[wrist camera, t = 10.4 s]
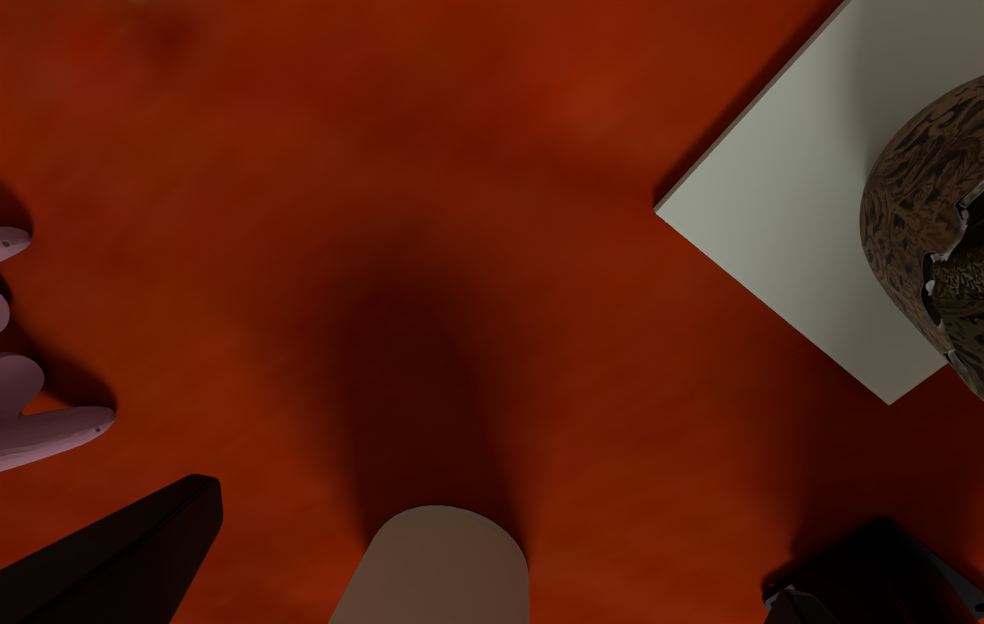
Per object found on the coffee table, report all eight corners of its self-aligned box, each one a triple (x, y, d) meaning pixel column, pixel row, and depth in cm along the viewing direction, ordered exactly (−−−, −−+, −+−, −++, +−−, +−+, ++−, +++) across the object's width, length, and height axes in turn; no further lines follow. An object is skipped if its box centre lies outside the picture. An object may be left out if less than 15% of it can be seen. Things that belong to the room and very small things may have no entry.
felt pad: (1215, 149, 16) (1237, 152, 15) (880, 396, 20) (888, 405, 20) (956, -123, 14) (971, -130, 14) (653, 208, 19) (655, 212, 18)
